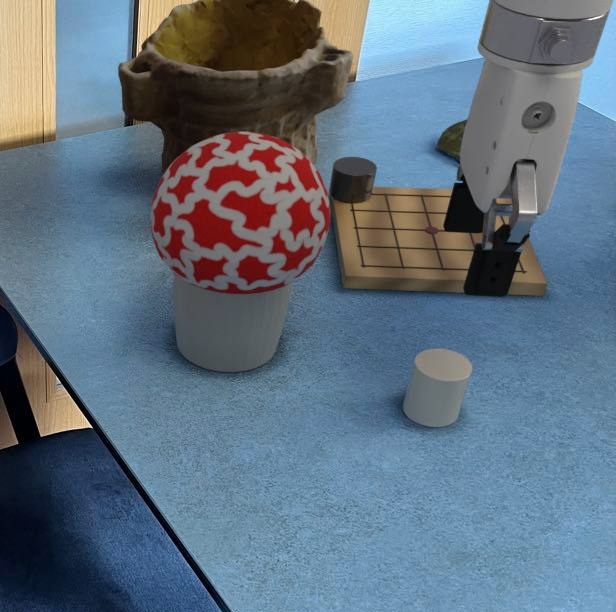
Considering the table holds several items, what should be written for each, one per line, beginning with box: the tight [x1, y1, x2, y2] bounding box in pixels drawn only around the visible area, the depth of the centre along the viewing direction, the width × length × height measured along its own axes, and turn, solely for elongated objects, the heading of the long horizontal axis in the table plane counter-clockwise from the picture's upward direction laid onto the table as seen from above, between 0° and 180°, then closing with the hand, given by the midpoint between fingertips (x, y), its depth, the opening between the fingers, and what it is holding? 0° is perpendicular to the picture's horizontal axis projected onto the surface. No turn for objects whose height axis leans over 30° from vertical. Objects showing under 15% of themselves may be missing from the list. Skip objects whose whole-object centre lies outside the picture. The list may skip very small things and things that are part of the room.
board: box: [328, 186, 548, 297], centre depth 112 cm, size 20×20×2 cm
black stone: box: [328, 156, 378, 203], centre depth 116 cm, size 5×5×3 cm
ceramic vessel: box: [117, 0, 354, 175], centre depth 113 cm, size 23×24×25 cm
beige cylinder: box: [402, 347, 473, 428], centre depth 90 cm, size 5×5×5 cm
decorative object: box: [149, 132, 331, 373], centre depth 92 cm, size 16×16×20 cm
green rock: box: [436, 119, 467, 161], centre depth 127 cm, size 10×7×10 cm
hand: (472, 261), depth 81 cm, fingers open, 9 cm apart
